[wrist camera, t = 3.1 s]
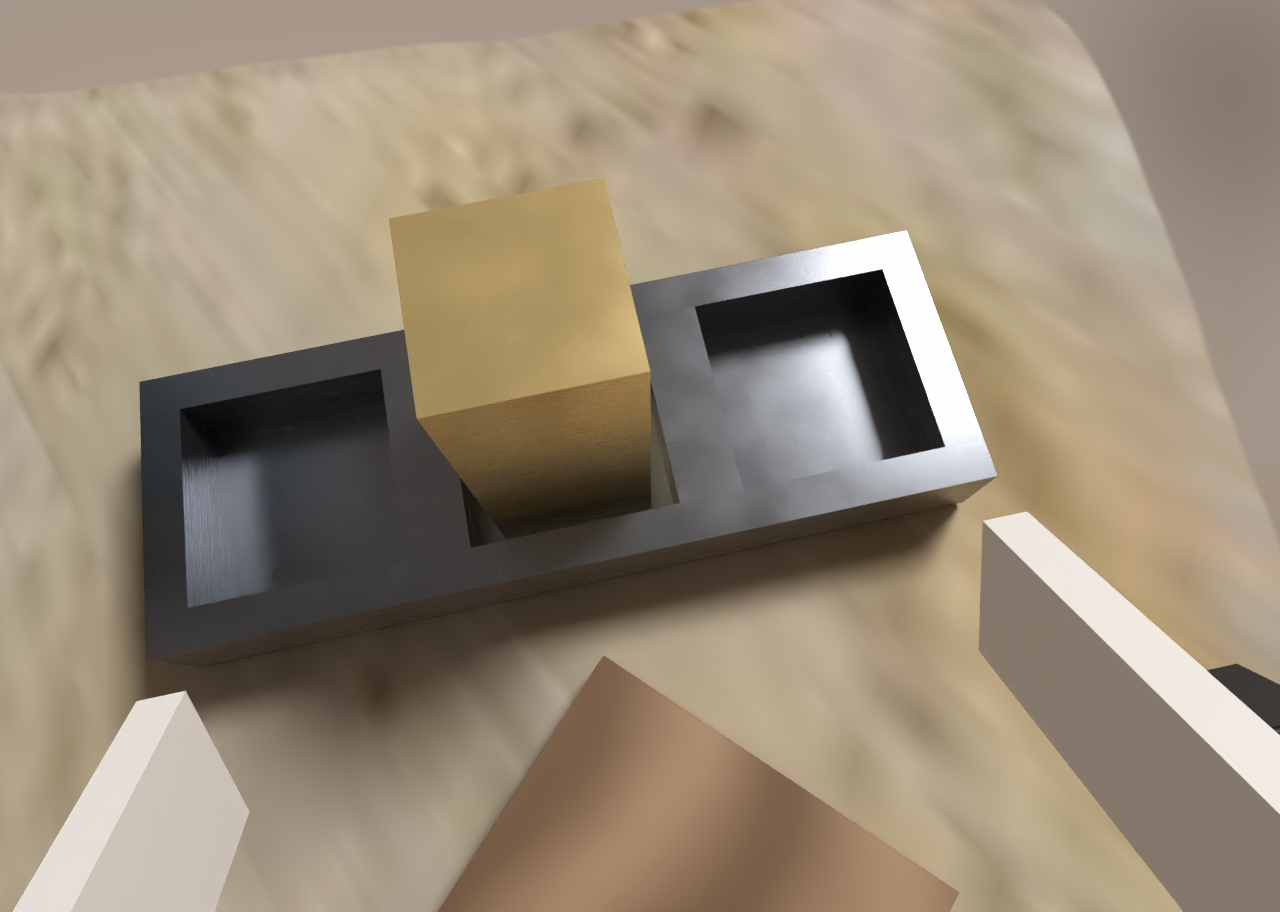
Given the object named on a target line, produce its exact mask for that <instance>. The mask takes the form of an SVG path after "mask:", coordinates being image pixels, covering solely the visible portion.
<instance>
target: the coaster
mask: <svg viewBox="0 0 1280 912" xmlns="http://www.w3.org/2000/svg"><path fill="white" fill-rule="evenodd" d="M958 894H959V892H958V891H956V890H955V889H953V888H952V887H950V886H949V885H947V884H946V883H944V882H943V881H941V880H940V879H938V878H937V877H935V876H934V875H932V874H931V873H929V872H928V871H926V870H925V869H923V868H922V867H920V866H919V865H917V864H916V863H914V862H913V861H911V860H910V859H908V858H907V857H905V856H904V855H902V854H901V853H899V852H898V851H896V850H895V849H893V848H892V847H890V846H889V845H887V844H886V843H884V842H883V841H881V840H880V839H878V838H877V837H875V836H874V835H872V834H871V833H869V832H868V831H866V830H865V829H863V828H862V827H860V826H859V825H857V824H856V823H854V822H853V821H851V820H850V819H848V818H847V817H845V816H844V815H842V814H841V813H839V812H838V811H836V810H835V809H833V808H832V807H830V806H829V805H827V804H826V803H824V802H823V801H821V800H820V799H818V798H817V797H815V796H814V795H812V794H811V793H809V792H808V791H806V790H805V789H803V788H802V787H800V786H799V785H797V784H796V783H794V782H793V781H791V780H790V779H788V778H787V777H785V776H784V775H782V774H781V773H779V772H778V771H776V770H775V769H773V768H772V767H770V766H769V765H767V764H766V763H764V762H763V761H761V760H760V759H758V758H757V757H755V756H754V755H752V754H751V753H749V752H748V751H746V750H745V749H743V748H742V747H740V746H739V745H737V744H736V743H734V742H733V741H731V740H730V739H728V738H727V737H725V736H724V735H722V734H721V733H719V732H718V731H716V730H715V729H713V728H712V727H710V726H709V725H707V724H706V723H704V722H703V721H701V720H700V719H698V718H697V717H695V716H694V715H692V714H691V713H689V712H688V711H686V710H685V709H683V708H682V707H680V706H679V705H677V704H676V703H674V702H673V701H671V700H670V699H668V698H667V697H665V696H664V695H662V694H661V693H659V692H658V691H656V690H655V689H653V688H652V687H650V686H649V685H647V684H646V683H644V682H643V681H641V680H640V679H638V678H637V677H635V676H634V675H632V674H631V673H629V672H628V671H626V670H625V669H623V668H622V667H620V666H619V665H617V664H616V663H614V662H613V661H611V660H610V659H608V658H607V657H605V656H604V655H603V657H602V659H601V660H600V662H599V663H598V665H597V666H596V668H595V669H594V671H593V673H592V674H591V676H590V677H589V679H588V680H587V682H586V683H585V685H584V687H583V688H582V690H581V691H580V693H579V694H578V696H577V697H576V699H575V701H574V702H573V704H572V705H571V707H570V708H569V710H568V711H567V713H566V715H565V716H564V718H563V719H562V721H561V722H560V724H559V725H558V727H557V729H556V730H555V732H554V733H553V735H552V736H551V738H550V739H549V741H548V743H547V744H546V746H545V747H544V749H543V750H542V752H541V753H540V755H539V757H538V758H537V760H536V761H535V763H534V764H533V766H532V767H531V769H530V771H529V772H528V774H527V775H526V777H525V778H524V780H523V781H522V783H521V785H520V786H519V788H518V789H517V791H516V792H515V794H514V795H513V797H512V799H511V800H510V802H509V803H508V805H507V806H506V808H505V809H504V811H503V813H502V814H501V816H500V817H499V819H498V820H497V822H496V823H495V825H494V827H493V828H492V830H491V831H490V833H489V834H488V836H487V837H486V839H485V841H484V842H483V844H482V845H481V847H480V848H479V850H478V851H477V853H476V855H475V856H474V858H473V859H472V861H471V862H470V864H469V865H468V867H467V869H466V870H465V872H464V873H463V875H462V876H461V878H460V879H459V881H458V883H457V884H456V886H455V887H454V889H453V890H452V892H451V893H450V895H449V897H448V898H447V900H446V901H445V903H444V904H443V906H442V907H441V909H440V911H439V912H950V911H951V909H952V906H953V904H954V902H955V900H956V898H957V896H958Z"/></svg>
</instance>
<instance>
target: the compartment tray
mask: <svg viewBox="0 0 1280 912" xmlns="http://www.w3.org/2000/svg"><path fill="white" fill-rule="evenodd" d="M630 289H631V293H632V297H633V301H634V305H635V309H636V314H637V318H638V322H639V326H640V330H641V334H642V339H643V343H644V347H645V351H646V355H647V359H648V364H649V368H650V396H651V507H646V508H642V509H637V510H632V511H628V512H623V513H618V514H613V515H609V516H604V517H599V518H595V519H590V520H585V521H580V522H576V523H571V524H566V525H562V526H557V527H552V528H547V529H543V530H538V531H533V532H529V533H524V534H519V535H514V536H510V537H504V536H503V534H502V533H501V531H500V530H499V529H498V527H497V526H496V525H495V523H494V522H493V521H492V519H491V518H490V517H489V515H488V514H487V513H486V511H485V510H484V509H483V507H482V506H481V505H480V503H479V502H478V501H477V499H476V498H475V497H474V495H473V494H472V493H471V491H470V490H469V488H468V487H467V486H466V484H465V483H464V482H463V480H462V479H461V478H460V476H459V475H458V474H457V472H456V471H455V470H454V468H453V467H452V466H451V464H450V463H449V462H448V460H447V459H446V458H445V456H444V455H443V454H442V452H441V451H440V450H439V448H438V447H437V445H436V444H435V443H434V441H433V440H432V439H431V437H430V436H429V435H428V433H427V432H426V431H425V429H424V428H423V427H422V425H421V424H420V423H419V421H418V420H417V417H416V410H415V403H414V396H413V389H412V381H411V374H410V367H409V360H408V353H407V345H406V338H405V331H404V330H401V331H395V332H390V333H385V334H380V335H375V336H370V337H365V338H360V339H355V340H350V341H345V342H340V343H335V344H330V345H324V346H319V347H314V348H309V349H304V350H299V351H294V352H289V353H284V354H279V355H274V356H269V357H264V358H259V359H254V360H248V361H243V362H238V363H233V364H228V365H223V366H218V367H213V368H208V369H203V370H198V371H193V372H188V373H183V374H177V375H172V376H167V377H162V378H157V379H152V380H147V381H142V382H140V423H141V464H142V505H143V546H144V588H145V629H146V659H148V660H155V661H161V662H168V663H175V664H181V665H188V666H194V667H203V666H207V665H212V664H217V663H221V662H226V661H230V660H235V659H240V658H244V657H249V656H254V655H258V654H263V653H267V652H272V651H277V650H281V649H286V648H291V647H295V646H300V645H304V644H309V643H314V642H318V641H323V640H327V639H332V638H337V637H341V636H346V635H351V634H355V633H360V632H364V631H369V630H374V629H378V628H383V627H388V626H392V625H397V624H401V623H406V622H411V621H415V620H420V619H425V618H429V617H434V616H438V615H443V614H448V613H452V612H457V611H461V610H466V609H471V608H475V607H480V606H485V605H489V604H494V603H498V602H503V601H508V600H512V599H517V598H522V597H526V596H531V595H535V594H540V593H545V592H549V591H554V590H558V589H563V588H568V587H572V586H577V585H582V584H586V583H591V582H595V581H600V580H605V579H609V578H614V577H619V576H623V575H628V574H632V573H637V572H642V571H646V570H651V569H655V568H660V567H665V566H669V565H674V564H679V563H683V562H688V561H692V560H697V559H702V558H706V557H711V556H716V555H720V554H725V553H729V552H734V551H739V550H743V549H748V548H753V547H757V546H762V545H766V544H771V543H776V542H780V541H785V540H789V539H794V538H799V537H803V536H808V535H813V534H817V533H822V532H826V531H831V530H836V529H840V528H845V527H850V526H854V525H859V524H863V523H868V522H873V521H877V520H882V519H886V518H891V517H896V516H900V515H905V514H910V513H914V512H919V511H923V510H928V509H933V508H937V507H942V506H947V505H951V504H956V503H960V502H964V501H965V500H966V499H968V498H969V497H970V496H972V495H973V494H974V493H976V492H977V491H978V490H980V489H981V488H982V487H984V486H985V485H986V484H988V483H989V482H990V481H992V480H993V479H994V478H996V477H997V473H996V471H995V468H994V465H993V463H992V460H991V457H990V454H989V452H988V449H987V446H986V444H985V441H984V438H983V436H982V433H981V430H980V427H979V425H978V422H977V419H976V417H975V414H974V411H973V409H972V406H971V403H970V400H969V398H968V395H967V392H966V390H965V387H964V384H963V382H962V379H961V376H960V373H959V371H958V368H957V365H956V363H955V360H954V357H953V354H952V352H951V349H950V346H949V344H948V341H947V338H946V336H945V333H944V330H943V327H942V325H941V322H940V319H939V317H938V314H937V311H936V309H935V306H934V303H933V300H932V298H931V295H930V292H929V290H928V287H927V284H926V282H925V279H924V276H923V273H922V271H921V268H920V265H919V263H918V260H917V257H916V255H915V252H914V249H913V246H912V244H911V241H910V238H909V236H908V233H907V231H902V232H897V233H892V234H887V235H882V236H877V237H872V238H867V239H862V240H857V241H852V242H847V243H842V244H836V245H831V246H826V247H821V248H816V249H811V250H806V251H801V252H796V253H791V254H786V255H781V256H776V257H771V258H765V259H760V260H755V261H750V262H745V263H740V264H735V265H730V266H725V267H720V268H715V269H710V270H705V271H700V272H695V273H689V274H684V275H679V276H674V277H669V278H664V279H659V280H654V281H649V282H644V283H639V284H634V285H630Z"/></svg>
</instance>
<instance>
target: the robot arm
mask: <svg viewBox="0 0 1280 912" xmlns="http://www.w3.org/2000/svg"><path fill="white" fill-rule="evenodd" d="M979 651H980V653H981V654H982V655H983V656H984V658H985V659H986V660H987V662H988V663H989V664H990V665H991V667H992V668H993V669H994V670H995V672H996V673H997V674H998V676H999V677H1000V678H1001V679H1002V681H1003V682H1004V683H1005V684H1006V686H1007V687H1008V688H1009V690H1010V691H1011V692H1012V693H1013V695H1014V696H1015V697H1016V699H1017V700H1018V701H1019V702H1020V704H1021V705H1022V706H1023V707H1024V709H1025V710H1026V711H1027V713H1028V714H1029V715H1030V716H1031V718H1032V719H1033V720H1034V721H1035V723H1036V724H1037V725H1038V727H1039V728H1040V729H1041V730H1042V732H1043V733H1044V734H1045V736H1046V737H1047V738H1048V739H1049V741H1050V742H1051V743H1052V744H1053V746H1054V747H1055V748H1056V750H1057V751H1058V752H1059V753H1060V755H1061V756H1062V757H1063V758H1064V760H1065V761H1066V762H1067V764H1068V765H1069V766H1070V767H1071V769H1072V770H1073V771H1074V772H1075V774H1076V775H1077V776H1078V778H1079V779H1080V780H1081V781H1082V783H1083V784H1084V785H1085V787H1086V788H1087V789H1088V790H1089V792H1090V793H1091V794H1092V795H1093V797H1094V798H1095V799H1096V801H1097V802H1098V803H1099V804H1100V806H1101V807H1102V808H1103V809H1104V811H1105V812H1106V813H1107V815H1108V816H1109V817H1110V818H1111V820H1112V821H1113V822H1114V824H1115V825H1116V826H1117V827H1118V829H1119V830H1120V831H1121V832H1122V834H1123V835H1124V836H1125V838H1126V839H1127V840H1128V841H1129V843H1130V844H1131V845H1132V846H1133V848H1134V849H1135V850H1136V852H1137V853H1138V854H1139V855H1140V857H1141V858H1142V859H1143V860H1144V862H1145V863H1146V864H1147V866H1148V867H1149V868H1150V869H1151V871H1152V872H1153V873H1154V875H1155V876H1156V877H1157V878H1158V880H1159V881H1160V882H1161V883H1162V885H1163V886H1164V887H1165V889H1166V890H1167V891H1168V892H1169V894H1170V895H1171V896H1172V897H1173V899H1174V900H1175V901H1176V903H1177V904H1178V905H1179V906H1180V908H1181V909H1182V910H1183V912H1280V685H1279V684H1277V683H1275V682H1273V681H1271V680H1269V679H1267V678H1265V677H1263V676H1261V675H1259V674H1257V673H1255V672H1253V671H1251V670H1249V669H1247V668H1245V667H1242V666H1240V665H1238V664H1233V665H1229V666H1225V667H1220V668H1216V669H1211V670H1205V669H1204V668H1203V667H1202V666H1201V665H1200V664H1199V663H1198V662H1196V661H1195V660H1194V659H1193V658H1192V657H1191V656H1190V655H1189V654H1187V653H1186V652H1185V651H1184V650H1183V649H1182V648H1181V647H1179V646H1178V645H1177V644H1176V643H1175V642H1174V641H1173V640H1172V639H1170V638H1169V637H1168V636H1167V635H1166V634H1165V633H1164V632H1162V631H1161V630H1160V629H1159V628H1158V627H1157V626H1156V625H1155V624H1153V623H1152V622H1151V621H1150V620H1149V619H1148V618H1147V617H1146V616H1144V615H1143V614H1142V613H1141V612H1140V611H1139V610H1138V609H1136V608H1135V607H1134V606H1133V605H1132V604H1131V603H1130V602H1129V601H1127V600H1126V599H1125V598H1124V597H1123V596H1122V595H1121V594H1120V593H1118V592H1117V591H1116V590H1115V589H1114V588H1113V587H1112V586H1110V585H1109V584H1108V583H1107V582H1106V581H1105V580H1104V579H1103V578H1101V577H1100V576H1099V575H1098V574H1097V573H1096V572H1095V571H1094V570H1092V569H1091V568H1090V567H1089V566H1088V565H1087V564H1086V563H1084V562H1083V561H1082V560H1081V559H1080V558H1079V557H1078V556H1077V555H1075V554H1074V553H1073V552H1072V551H1071V550H1070V549H1069V548H1068V547H1066V546H1065V545H1064V544H1063V543H1062V542H1061V541H1060V540H1058V539H1057V538H1056V537H1055V536H1054V535H1053V534H1052V533H1051V532H1049V531H1048V530H1047V529H1046V528H1045V527H1044V526H1043V525H1042V524H1040V523H1039V522H1038V521H1037V520H1036V519H1035V518H1034V517H1032V516H1031V515H1030V514H1029V513H1028V512H1023V513H1018V514H1013V515H1009V516H1004V517H999V518H995V519H990V520H985V521H983V532H982V564H981V596H980V627H979ZM248 815H249V810H248V808H247V806H246V804H245V802H244V800H243V799H242V797H241V795H240V793H239V791H238V789H237V787H236V785H235V783H234V781H233V780H232V778H231V776H230V774H229V772H228V770H227V768H226V766H225V764H224V763H223V761H222V759H221V757H220V755H219V753H218V751H217V749H216V747H215V746H214V744H213V742H212V740H211V738H210V736H209V734H208V732H207V730H206V728H205V727H204V725H203V723H202V721H201V719H200V717H199V715H198V713H197V711H196V710H195V708H194V706H193V704H192V702H191V700H190V698H189V696H188V694H187V692H186V691H182V692H178V693H173V694H168V695H164V696H159V697H154V698H150V699H145V700H140V701H136V703H135V705H134V706H133V708H132V710H131V712H130V713H129V715H128V717H127V718H126V720H125V722H124V723H123V725H122V727H121V729H120V730H119V732H118V734H117V735H116V737H115V739H114V740H113V742H112V744H111V746H110V747H109V749H108V751H107V752H106V754H105V756H104V757H103V759H102V761H101V763H100V764H99V766H98V768H97V769H96V771H95V773H94V774H93V776H92V778H91V780H90V781H89V783H88V785H87V786H86V788H85V790H84V791H83V793H82V795H81V797H80V798H79V800H78V802H77V803H76V805H75V807H74V808H73V810H72V812H71V814H70V815H69V817H68V819H67V820H66V822H65V824H64V825H63V827H62V829H61V831H60V832H59V834H58V836H57V837H56V839H55V841H54V842H53V844H52V846H51V848H50V849H49V851H48V853H47V854H46V856H45V858H44V859H43V861H42V863H41V865H40V866H39V868H38V870H37V871H36V873H35V875H34V876H33V878H32V880H31V882H30V883H29V885H28V887H27V888H26V890H25V892H24V893H23V895H22V897H21V899H20V900H19V902H18V904H17V905H16V907H15V909H14V910H13V912H214V911H215V909H216V906H217V903H218V900H219V897H220V894H221V891H222V889H223V886H224V883H225V880H226V877H227V874H228V872H229V869H230V866H231V863H232V860H233V857H234V855H235V852H236V849H237V846H238V843H239V840H240V837H241V835H242V832H243V829H244V826H245V823H246V820H247V818H248Z"/></svg>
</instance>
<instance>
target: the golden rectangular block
mask: <svg viewBox="0 0 1280 912" xmlns="http://www.w3.org/2000/svg"><path fill="white" fill-rule="evenodd" d="M389 223H390V230H391V237H392V244H393V252H394V259H395V266H396V273H397V280H398V288H399V295H400V302H401V309H402V316H403V324H404V331H405V338H406V345H407V353H408V360H409V367H410V374H411V381H412V389H413V396H414V403H415V410H416V417H417V420H418V421H419V423H420V424H421V425H422V427H423V428H424V429H425V431H426V432H427V433H428V435H429V436H430V437H431V439H432V440H433V441H434V443H435V444H436V445H437V447H438V448H439V450H440V451H441V452H442V454H443V455H444V456H445V458H446V459H447V460H448V462H449V463H450V464H451V466H452V467H453V468H454V470H455V471H456V472H457V474H458V475H459V476H460V478H461V479H462V480H463V482H464V483H465V484H466V486H467V487H468V488H469V490H470V491H471V493H472V494H473V495H474V497H475V498H476V499H477V501H478V502H479V503H480V505H481V506H482V507H483V509H484V510H485V511H486V513H487V514H488V515H489V517H490V518H491V519H492V521H493V522H494V523H495V525H496V526H497V527H498V529H499V530H500V531H501V533H502V534H503V536H504V537H510V536H514V535H519V534H524V533H529V532H533V531H538V530H543V529H547V528H552V527H557V526H562V525H566V524H571V523H576V522H580V521H585V520H590V519H595V518H599V517H604V516H609V515H613V514H618V513H623V512H628V511H632V510H637V509H642V508H646V507H651V396H650V368H649V364H648V359H647V355H646V351H645V347H644V343H643V339H642V334H641V330H640V326H639V322H638V318H637V314H636V309H635V305H634V301H633V297H632V293H631V289H630V284H629V280H628V276H627V272H626V268H625V264H624V259H623V255H622V251H621V247H620V243H619V239H618V234H617V230H616V226H615V222H614V218H613V214H612V209H611V205H610V201H609V197H608V193H607V189H606V184H605V180H604V178H601V179H596V180H591V181H585V182H580V183H575V184H570V185H564V186H559V187H554V188H549V189H543V190H538V191H533V192H527V193H522V194H517V195H512V196H506V197H501V198H496V199H491V200H485V201H480V202H475V203H469V204H464V205H459V206H454V207H448V208H443V209H438V210H433V211H427V212H422V213H417V214H412V215H406V216H401V217H396V218H390V219H389Z"/></svg>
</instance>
